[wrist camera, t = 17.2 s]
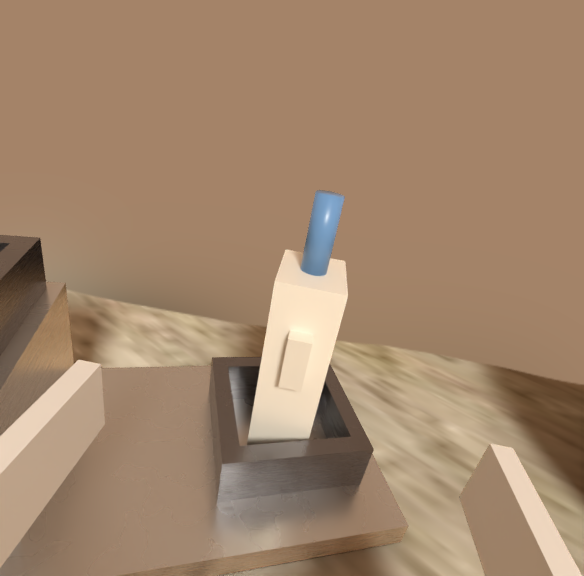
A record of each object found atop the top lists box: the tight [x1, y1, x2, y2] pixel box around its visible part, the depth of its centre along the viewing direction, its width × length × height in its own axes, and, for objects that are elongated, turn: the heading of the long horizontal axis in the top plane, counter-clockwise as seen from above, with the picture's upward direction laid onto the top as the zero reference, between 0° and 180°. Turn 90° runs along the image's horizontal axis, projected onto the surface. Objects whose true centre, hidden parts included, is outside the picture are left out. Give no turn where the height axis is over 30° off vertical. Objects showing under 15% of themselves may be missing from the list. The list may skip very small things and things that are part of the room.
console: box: [0, 235, 408, 576], centre depth 20 cm, size 30×14×12 cm, turn 104°
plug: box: [247, 190, 348, 445], centre depth 21 cm, size 4×5×16 cm, turn 174°
